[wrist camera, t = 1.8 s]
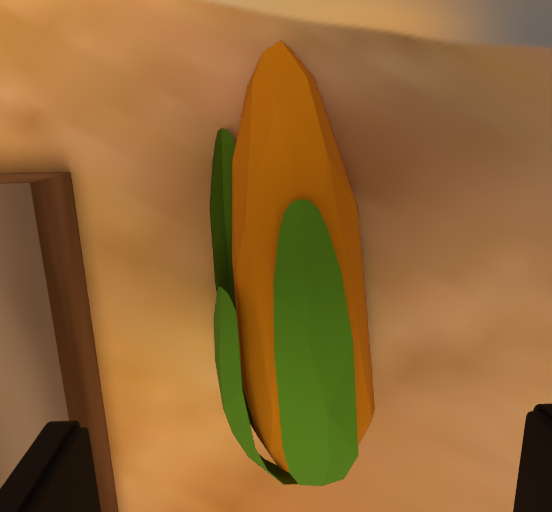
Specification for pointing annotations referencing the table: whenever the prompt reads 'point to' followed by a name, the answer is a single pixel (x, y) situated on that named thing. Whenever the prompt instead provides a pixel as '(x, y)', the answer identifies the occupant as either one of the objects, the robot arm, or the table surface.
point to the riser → (46, 324)
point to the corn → (289, 281)
